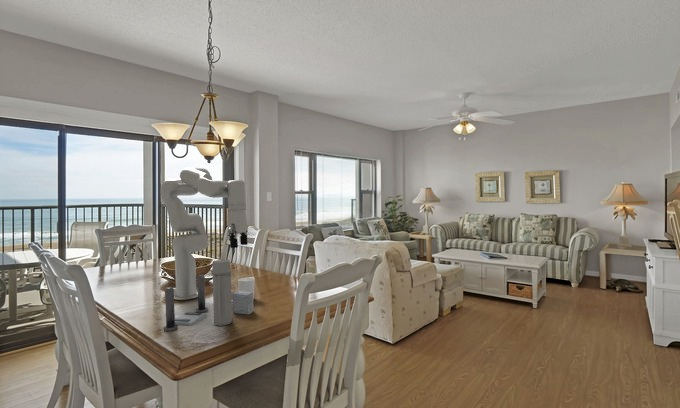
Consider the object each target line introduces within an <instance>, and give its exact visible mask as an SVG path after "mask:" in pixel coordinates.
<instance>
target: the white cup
mask: <svg viewBox="0 0 680 408" xmlns="http://www.w3.org/2000/svg"><path fill="white" fill-rule="evenodd" d="M237 281H238V282H237V283H238V291H243V292H253V300H254V299H255V288H256V287H255V286H256V285H255V284H256V283H255V282H256V278H255V277H252V276H250V277H241V278H238V280H237Z"/></svg>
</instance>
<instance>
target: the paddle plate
mask: <svg viewBox="0 0 680 408" xmlns="http://www.w3.org/2000/svg"><path fill="white" fill-rule="evenodd" d="M206 317H208V313H207V312H205V313H196V312H189V311H188V312H185V311H184V312H181V313H180V314H178V315H175V324H176V325H178V326H179V325H182V326H192V325H194V324H196V323H197V322H200V321H201V320H203V319H204V318H206Z"/></svg>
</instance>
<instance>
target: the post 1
mask: <svg viewBox="0 0 680 408" xmlns="http://www.w3.org/2000/svg"><path fill="white" fill-rule="evenodd" d="M174 288H175V287H173V286H170V287H165V288H164V300H165V325H164V326H163V330H164V331H163V332H165V331H166V332H165V333H167V332H168V331H171V332H175V331H177V330H178V329H179V325H178V324H175V317H176V315H175V299H174ZM174 330H175V331H174ZM168 333H169V332H168Z"/></svg>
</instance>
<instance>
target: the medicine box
mask: <svg viewBox="0 0 680 408" xmlns="http://www.w3.org/2000/svg"><path fill="white" fill-rule="evenodd" d="M231 296H232V314H239V315H240V314H241V315H250V314H253V312H254V299H253V292H243V291H239V290H237V291H235V292H233V293H231Z"/></svg>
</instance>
